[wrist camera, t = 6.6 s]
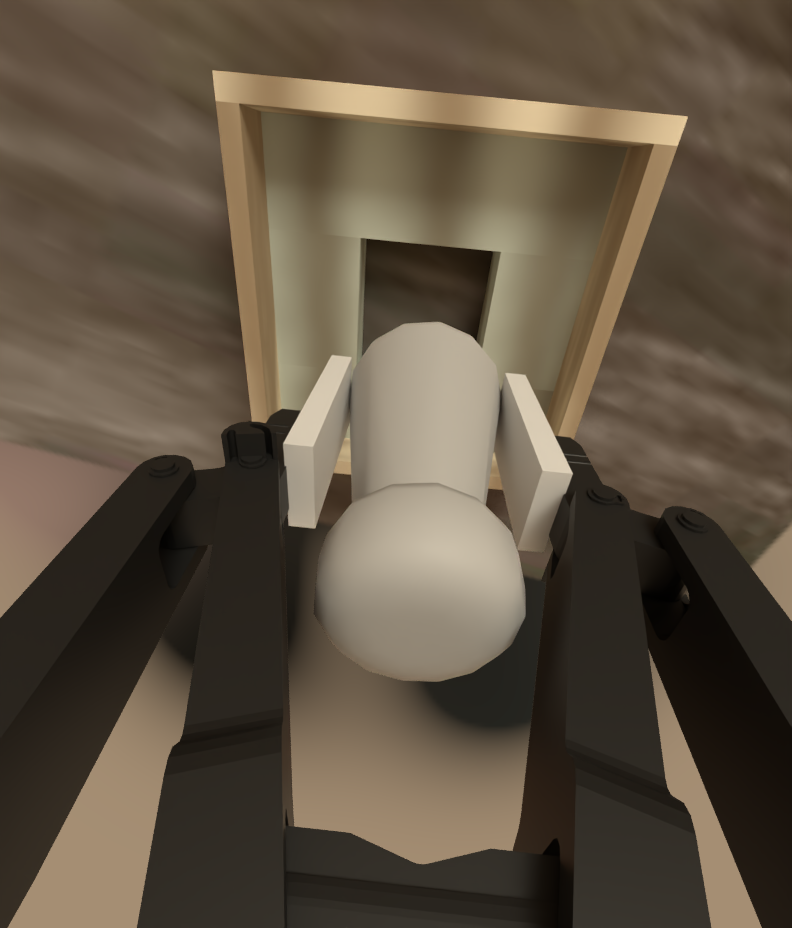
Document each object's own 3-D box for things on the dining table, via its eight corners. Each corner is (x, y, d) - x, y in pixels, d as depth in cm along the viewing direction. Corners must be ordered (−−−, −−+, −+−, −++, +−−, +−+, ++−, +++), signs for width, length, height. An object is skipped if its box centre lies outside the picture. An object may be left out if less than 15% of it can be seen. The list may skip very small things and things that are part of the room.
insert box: (281, 422, 34) (257, 465, 29) (258, 92, 23) (212, 70, 18) (535, 448, 34) (553, 495, 29) (632, 129, 23) (687, 116, 18)
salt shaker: (519, 382, 19) (642, 661, 8) (418, 455, 21) (407, 748, 10) (432, 273, 17) (437, 452, 6) (330, 368, 19) (199, 621, 8)
